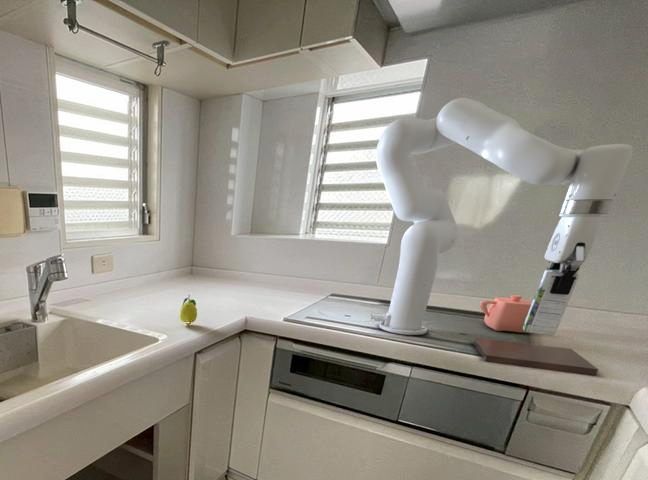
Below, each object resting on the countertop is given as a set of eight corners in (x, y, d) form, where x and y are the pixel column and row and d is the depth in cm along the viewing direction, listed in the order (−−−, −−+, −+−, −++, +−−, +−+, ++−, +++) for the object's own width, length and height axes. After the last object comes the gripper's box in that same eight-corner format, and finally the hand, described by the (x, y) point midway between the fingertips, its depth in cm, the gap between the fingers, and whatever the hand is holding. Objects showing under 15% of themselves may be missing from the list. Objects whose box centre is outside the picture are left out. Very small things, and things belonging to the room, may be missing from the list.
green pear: (181, 328, 127) (182, 297, 123) (175, 323, 132) (176, 293, 128) (201, 326, 129) (202, 295, 125) (194, 322, 134) (195, 292, 130)
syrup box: (522, 327, 102) (543, 268, 97) (553, 331, 99) (577, 270, 93) (522, 332, 98) (544, 271, 93) (555, 336, 95) (580, 273, 89)
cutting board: (484, 360, 99) (486, 355, 99) (473, 343, 112) (474, 337, 112) (595, 375, 90) (598, 369, 90) (569, 354, 103) (571, 348, 103)
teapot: (468, 321, 133) (478, 290, 129) (537, 327, 126) (550, 294, 122) (478, 330, 123) (489, 296, 119) (554, 337, 116) (568, 302, 112)
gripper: (549, 209, 97) (522, 284, 103) (577, 209, 83) (544, 296, 89) (591, 209, 93) (561, 286, 100) (628, 209, 79) (590, 299, 86)
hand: (553, 290), depth 95 cm, fingers closed on syrup box, 6 cm apart
